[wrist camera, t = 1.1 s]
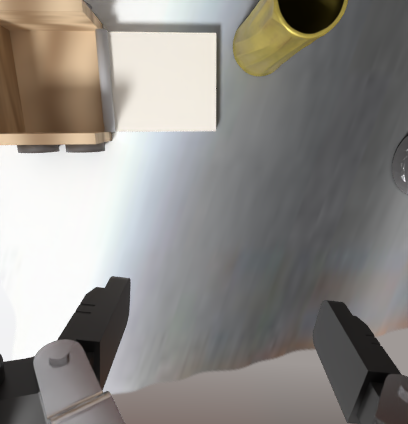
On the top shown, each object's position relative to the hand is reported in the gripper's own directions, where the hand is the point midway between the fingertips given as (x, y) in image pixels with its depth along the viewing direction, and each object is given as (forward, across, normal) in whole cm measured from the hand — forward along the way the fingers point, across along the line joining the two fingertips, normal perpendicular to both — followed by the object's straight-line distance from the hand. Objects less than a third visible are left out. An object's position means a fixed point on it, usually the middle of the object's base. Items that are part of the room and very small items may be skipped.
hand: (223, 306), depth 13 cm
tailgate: (+27, +7, -9) cm, 29 cm away
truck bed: (+26, +18, -8) cm, 32 cm away
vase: (+28, -3, -14) cm, 32 cm away
